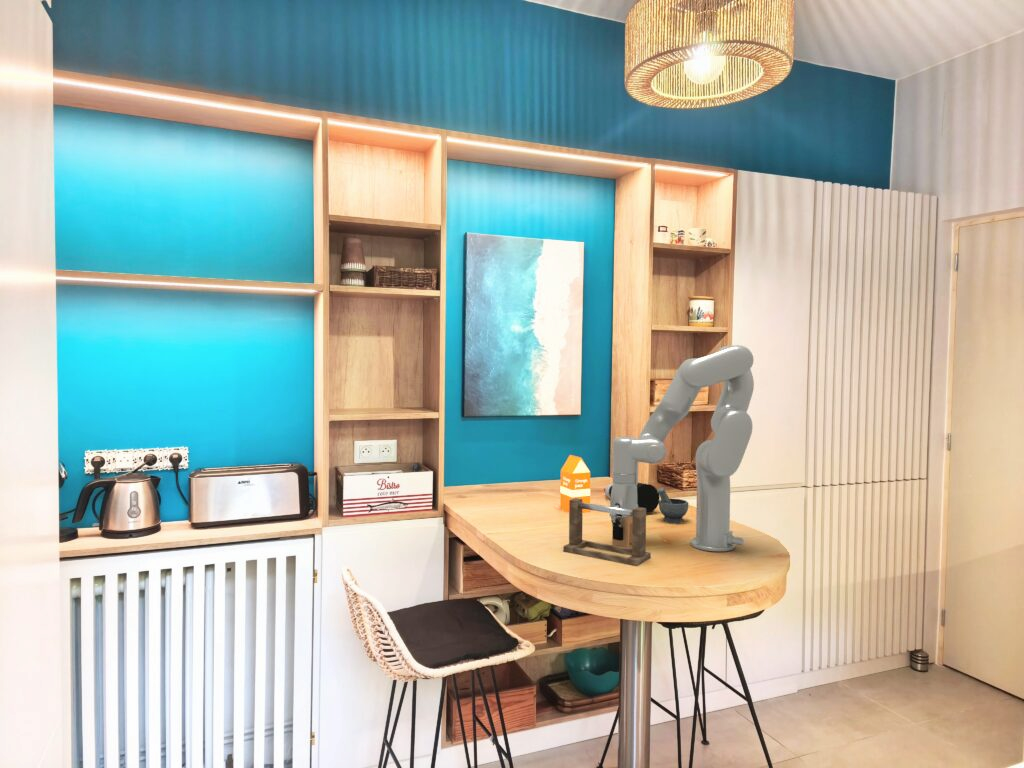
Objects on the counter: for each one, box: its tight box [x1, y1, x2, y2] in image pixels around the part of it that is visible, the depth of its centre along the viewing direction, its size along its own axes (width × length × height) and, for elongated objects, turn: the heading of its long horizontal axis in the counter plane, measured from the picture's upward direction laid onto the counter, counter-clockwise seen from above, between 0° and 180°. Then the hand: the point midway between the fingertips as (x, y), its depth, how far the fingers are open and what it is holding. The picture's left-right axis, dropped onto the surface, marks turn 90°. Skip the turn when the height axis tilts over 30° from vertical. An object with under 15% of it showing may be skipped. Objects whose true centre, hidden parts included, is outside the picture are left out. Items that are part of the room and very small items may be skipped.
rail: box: [578, 502, 633, 517], centre depth 186 cm, size 21×2×2 cm, turn 55°
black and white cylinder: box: [603, 482, 661, 514], centre depth 250 cm, size 10×34×10 cm, turn 14°
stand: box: [562, 498, 652, 567], centre depth 186 cm, size 23×9×14 cm, turn 55°
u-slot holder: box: [611, 515, 633, 549], centre depth 196 cm, size 5×6×9 cm
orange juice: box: [559, 454, 591, 514], centre depth 240 cm, size 8×9×20 cm
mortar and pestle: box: [657, 486, 689, 525], centre depth 224 cm, size 11×9×12 cm
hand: (624, 536), depth 196 cm, fingers open, 8 cm apart
